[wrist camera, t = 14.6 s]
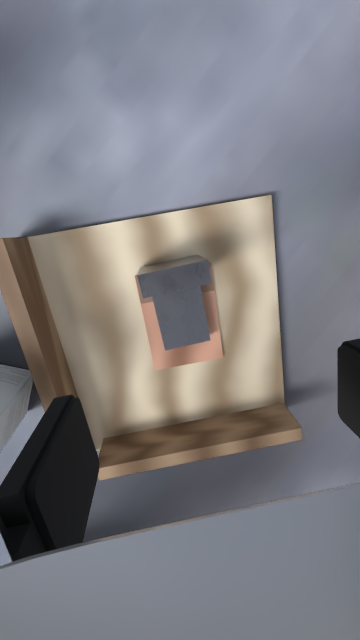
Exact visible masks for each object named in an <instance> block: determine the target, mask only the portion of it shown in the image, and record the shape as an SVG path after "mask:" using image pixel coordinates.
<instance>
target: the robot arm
mask: <svg viewBox="0 0 360 640" xmlns="http://www.w3.org/2000/svg"><path fill="white" fill-rule="evenodd" d="M338 414H339V416H340V418H341V420H342V421H343V422H344V423H345V424H346V425H347V426H348V427H349V428H350V429H351V430H352V431H353V432H354V433H355V434H356V435H357V436H358V437H359V438H360V339H355V340H350V341H345V342H343V343H342V345H341V346H340V347H339V348H338ZM98 473H99V458H98V455H97V452H96V449H95V445H94V442H93V439H92V436H91V433H90V429H89V426H88V423H87V420H86V417H85V413H84V410H83V407H82V404H81V401H80V399H79V398H78V397H77V398H75V397H74V396H73V395H72V394H71V395H66V396H61V397H56V398H54V399H53V401H52V402H51V404H50V405H49V407H48V409H47V410H46V412H45V414H44V415H43V417H42V419H41V420H40V422H39V423H38V425H37V427H36V428H35V430H34V432H33V433H32V435H31V437H30V438H29V440H28V441H27V443H26V445H25V446H24V448H23V450H22V451H21V453H20V455H19V456H18V458H17V459H16V461H15V463H14V464H13V466H12V468H11V469H10V471H9V473H8V474H7V476H6V477H5V479H4V481H3V482H2V484H1V486H0V640H360V483H356V484H351V485H346V486H341V487H337V488H332V489H327V490H322V491H318V492H313V493H308V494H303V495H299V496H294V497H289V498H284V499H280V500H275V501H270V502H266V503H261V504H256V505H252V506H247V507H242V508H237V509H233V510H228V511H223V512H219V513H214V514H210V515H205V516H201V517H196V518H191V519H187V520H182V521H178V522H173V523H168V524H164V525H159V526H155V527H150V528H146V529H141V530H136V531H132V532H127V533H123V534H118V535H114V536H109V537H105V538H100V539H96V540H91V541H87V542H83V537H84V533H85V529H86V525H87V520H88V516H89V512H90V507H91V503H92V499H93V494H94V490H95V486H96V482H97V477H98ZM82 542H83V543H82Z"/></svg>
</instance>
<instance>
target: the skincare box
mask: <svg viewBox="0 0 360 640" xmlns="http://www.w3.org/2000/svg"><path fill="white" fill-rule="evenodd" d="M32 384H33V378H32V375H31V373H30V370H26V369H21V368H16V367H11V366H6V365H1V364H0V453H1V451H2V450H3V448H4V447H5V445H6V444H7V442H8V441H9V439H10V438H11V436H12V435H13V433H14V432H15V430H16V429H17V427H18V426H19V424H20V423H21V421H22V420H23V418H24V417H25V415H26V414H27V410H28V405H29V399H30V394H31V389H32Z"/></svg>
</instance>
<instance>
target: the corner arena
mask: <svg viewBox="0 0 360 640" xmlns="http://www.w3.org/2000/svg"><path fill="white" fill-rule="evenodd" d="M197 254H198V255H200V256H202V257H204V258H206V259H208V262H209V268H210V274H211V280H212V283H211V284H206V285H202V286H201V292H202V297H203V302H204V308H205V313H206V318H207V323H208V329H209V334H210V339H211V340H210V341H206V342H201V343H197V344H192V345H188V346H184V347H179V348H175V349H170V350H166V351H165V348H164V344H163V340H162V336H161V332H160V328H159V323H158V319H157V315H156V311H155V307H154V303H153V299H152V297H148V298H143V297H142V293H141V289H140V285H139V281H138V277H137V274H138V272H139V270H140V267H143V266H147V265H152V264H156V263H161V262H165V261H170V260H174V259H179V258H183V257H188V256H192V255H197ZM0 291H1V293H2V296H3V299H4V302H5V304H6V307H7V310H8V312H9V315H10V318H11V321H12V323H13V326H14V329H15V332H16V334H17V337H18V340H19V342H20V345H21V348H22V351H23V353H24V356H25V359H26V362H27V364H28V367H29V370H30V373H31V375H32V378H33V381H34V383H35V386H36V389H37V392H38V394H39V397H40V400H41V403H42V405H43V408H44V411H45V412H46V410H47V409H48V407H49V405H50V404H51V402H52V401H53V399H54V398H56V397H61V396H66V395H71V394H72V395H73V396H74V397H75V398H77V397H78V398H79V399H80V401H81V404H82V407H83V410H84V413H85V417H86V420H87V423H88V426H89V429H90V433H91V436H92V439H93V442H94V445H95V449H96V451H97V450H100V454H99V473H98V478H99V480H104V479H109V478H114V477H119V476H124V475H129V474H134V473H139V472H144V471H149V470H154V469H159V468H164V467H169V466H174V465H179V464H184V463H189V462H194V461H199V460H204V459H209V458H214V457H219V456H224V455H229V454H234V453H239V452H244V451H249V450H254V449H259V448H264V447H269V446H274V445H279V444H284V443H289V442H294V441H299V440H302V428H301V426H300V425H299V424H298V422H297V421H296V420H295V418H294V417H293V416H292V414H291V413H290V412H289V410H288V409H287V408H286V406H285V400H284V384H283V368H282V353H281V337H280V321H279V305H278V289H277V273H276V257H275V241H274V225H273V209H272V195H267V196H261V197H255V198H250V199H244V200H238V201H232V202H227V203H221V204H215V205H209V206H204V207H198V208H192V209H186V210H181V211H175V212H169V213H163V214H157V215H152V216H146V217H140V218H134V219H129V220H123V221H117V222H111V223H106V224H100V225H94V226H88V227H83V228H77V229H71V230H65V231H60V232H54V233H48V234H42V235H36V236H31V237H17V238H0Z"/></svg>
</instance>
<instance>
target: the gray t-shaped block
mask: <svg viewBox="0 0 360 640" xmlns="http://www.w3.org/2000/svg"><path fill="white" fill-rule="evenodd" d="M137 277H138V281H139V285H140V289H141V293H142V297H143V298H148V297H152V299H153V303H154V307H155V311H156V315H157V319H158V323H159V328H160V332H161V336H162V340H163V344H164V348H165V351H166V350H170V349H175V348H179V347H184V346H188V345H192V344H197V343H201V342H206V341H210V340H211V339H210V334H209V329H208V323H207V318H206V313H205V308H204V302H203V297H202V292H201V286H202V285H206V284H211V283H212V280H211V274H210V268H209V262H208V259H206V258H204V257H202V256H200V255H198V254H197V255H192V256H188V257H183V258H179V259H174V260H170V261H165V262H161V263H156V264H152V265H147V266H143V267H140V270H139V272H138V274H137Z"/></svg>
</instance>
